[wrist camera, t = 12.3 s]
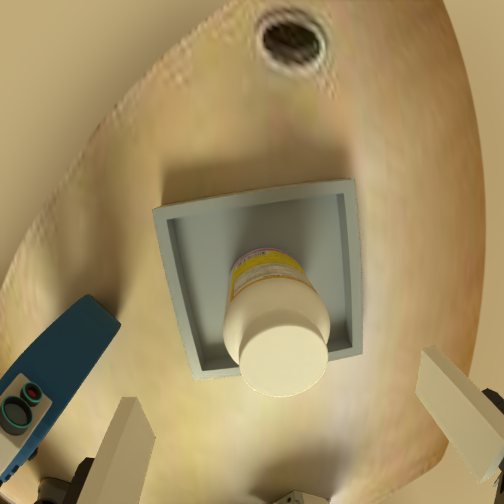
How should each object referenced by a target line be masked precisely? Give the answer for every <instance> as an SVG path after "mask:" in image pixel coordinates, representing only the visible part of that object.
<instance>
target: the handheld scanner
mask: <svg viewBox="0 0 504 504" xmlns="http://www.w3.org/2000/svg"><path fill="white" fill-rule="evenodd" d="M120 327H121V323H120V322H119V321H118V320H116V319H115V318H114V317H113V316H112V315H111V314H110V313H109V312H108V311H107V310H106V309H104V308H103V307H102V306H101V305H100V304H99V303H98V302H97V301H96V300H95V299H94V298H93V297H92V296H91V295H89V294H88V295H85V296H84V297H82V298H81V299H79V300H78V301H77V302H76V303H75V304H73V305H72V306H71V307H70V308H69V309H68V310H66V311H65V312H64V313H63V314H62V315H61V316H60V317H59V318H58V319H56V320H55V321H54V322H53V323H52V324H51V325H50V326H49V327H48V328H47V329H46V330H45V331H44V332H43V333H42V334H41V335H40V336H39V337H38V338H37V339H36V340H35V341H34V342H33V343H32V344H31V345H30V346H29V347H28V348H27V349H26V350H25V351H24V352H23V353H22V354H21V355H20V356H19V357H18V359H17V360H16V361H15V362H14V363H13V364H12V366H11V367H10V368H9V369H8V371H7V372H6V373H5V374H4V376H3V377H2V378H1V379H0V487H1V485H2V484H3V482H4V483H5V482H7V481H8V480H9V479H10V477H11V475H14V473H15V472H16V471H17V470H18V468H19V467H20V466H22V465H23V464H24V463H25V461H26V460H27V459H28V460H29V461H30V460H31V459H34V457H35V456H36V454H37V452H38V451H37V449H38V447H37V446H38V445H39V444H40V442H41V441H42V440H43V438H44V437H45V436H46V434H47V433H48V431H49V430H50V429H51V427H52V426H53V425H54V423H55V422H56V420H57V419H58V417H59V416H60V415H61V413H62V412H63V410H64V409H65V408H66V406H67V405H68V403H69V402H70V400H71V399H72V397H73V396H74V395H75V393H76V392H77V390H78V389H79V387H80V386H81V384H82V383H83V381H84V380H85V379H86V377H87V376H88V374H89V373H90V371H91V370H92V368H93V367H94V365H95V364H96V363H97V361H98V360H99V358H100V357H101V355H102V354H103V352H104V351H105V350H106V348H107V347H108V345H109V344H110V342H111V341H112V339H113V338H114V337H115V335H116V334H117V332H118V331H119V329H120Z"/></svg>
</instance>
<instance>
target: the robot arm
mask: <svg viewBox="0 0 504 504" xmlns="http://www.w3.org/2000/svg"><path fill="white" fill-rule="evenodd" d="M415 394H416V395H417V397H418V398H419V399H420V401H421V402H422V403H423V405H424V406H425V408H426V409H427V410H428V412H429V413H430V415H431V416H432V417H433V419H434V420H435V422H436V423H437V424H438V426H439V427H440V429H441V430H442V431H443V433H444V434H445V436H446V437H447V438H448V440H449V441H450V443H451V444H452V446H453V447H454V449H455V450H456V451H457V453H458V454H459V455H460V457H461V459H462V460H463V462H464V463H465V465H466V466H467V468H468V469H469V470H470V472H471V473H472V475H473V476H474V478H475V479H476V481H477V483H478V484H480V483H482V482H483V481H485V480H487V479H488V478H490V477H492V476H493V475H494V473H495V472H496V470H497V468H498V467H499V468H500V470H501V471H502V472H501V473H500V475H499V477H498V478H497V480H496V481H495V483H494V485H493V487H495V486H496V485H497V483H498V487H497V492H496V498H495V502H494V504H504V399H503V398H502V397H501V396H500V395H499V394H498V393H497V392H495V391H492V390H490V389H488V388H487V389H485V390H483V391H480V390H479V389H478V388H477V386H476V385H475V384H473V382H472V381H471V380H470V379H469V378H468V377H467V376H466V375H465V374H464V373H463V372H462V371H461V370H460V369H459V368H458V367H457V366H456V365H455V364H454V363H453V362H452V361H451V360H450V359H449V358H448V357H447V356H446V355H445V354H443V353H442V352H441V351H440V350H439V349H438V348H437V347H436V346H435V345H434V346H431V347H428V348H425V349H422V353H421V361H420V368H419V375H418V381H417V387H416V393H415ZM155 438H156V437H155V435H154V433H153V431H152V429H151V427H150V425H149V422H148V420H147V418H146V416H145V414H144V412H143V409H142V407H141V405H140V403H139V400H138V398H137V397H122V399H121V401H120V403H119V405H118V408H117V410H116V412H115V414H114V416H113V419H112V421H111V423H110V425H109V427H108V430H107V432H106V434H105V436H104V439H103V441H102V443H101V446H100V448H99V450H98V453H97V455H96V457H95V458H88V457H86V458H85V459H84V460H83V461H82V462H81V463H80V464H79V466H78V468H77V470H76V472H75V476H74V477H73V479H72V481H71V482H72V483H70V484H69V483H67V482H64V481H61V480H58V479H54V478H44V479H42V481H41V483H40V485H39V487H38V499H37V501H36V502H35V503H34V504H139V500H140V496H141V492H142V488H143V484H144V480H145V476H146V472H147V468H148V464H149V461H150V457H151V453H152V449H153V446H154V442H155ZM0 504H11V503H10V502H8V501H7V500H5V499H4V498H3V497H2V496H1V495H0Z"/></svg>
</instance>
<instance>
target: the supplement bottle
mask: <svg viewBox="0 0 504 504" xmlns="http://www.w3.org/2000/svg"><path fill="white" fill-rule="evenodd" d="M329 334H330V320H329V315H328V311H327V309H326V307H325V305H324V303H323V301H322V300H321V298H320V296H319V295H318V293H317V292H316V290H315V289H314V287H313V286H312V284H311V282H310V281H309V279H308V278H307V276H306V274H305V273H304V271H303V270H302V268H301V267H300V265H299V264H298V262H297V261H296V260H295V259H294V258H293V257H292V256H290V255H289V254H287V253H286V252H284V251H281V250H278V249H274V248H260V249H256V250H253V251H251V252H249V253H247V254H245V255H244V256H242V257H241V258H240V259H239V260H238V261H237V262H236V264H235V265H234V266H233V268H232V270H231V272H230V275H229V280H228V287H227V297H226V306H225V315H224V323H223V338H224V343H225V346H226V348H227V351H228V353H229V354H230V356H231V357H232V359H233V360H234V361H235V362H236V363H237V364H238V365H239V368H240V372H241V375H242V377H243V379H244V381H245V382H246V383H247V384H248V385H249V386H250V387H251V388H252V389H253V390H255V391H257V392H259V393H261V394H264V395H267V396H272V397H288V396H293V395H296V394H299V393H302V392H304V391H306V390H307V389H309V388H310V387H312V386H313V385H314V384H315V383H317V382H318V380H319V379H320V378H321V377H322V375H323V374H324V372H325V370H326V367H327V364H328V349H327V346H326V344H327V342H328V338H329Z"/></svg>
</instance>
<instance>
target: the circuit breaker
mask: <svg viewBox="0 0 504 504" xmlns="http://www.w3.org/2000/svg"><path fill="white" fill-rule="evenodd" d="M287 501H289V503H288V502H287ZM330 501H331V500H330V499H328V500H325V498H322V497H318V496H314V495H310V494H307V493H303V492H300V491H296V490H294V491H293V492H291V493H289V494H288V495H286V496H285V497H283V498H281V499H280V500H278V501H276V502H274V503H273V504H330V503H329V502H330Z"/></svg>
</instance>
